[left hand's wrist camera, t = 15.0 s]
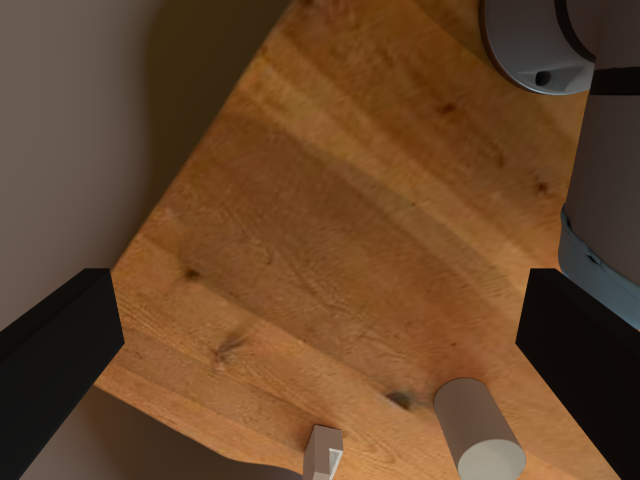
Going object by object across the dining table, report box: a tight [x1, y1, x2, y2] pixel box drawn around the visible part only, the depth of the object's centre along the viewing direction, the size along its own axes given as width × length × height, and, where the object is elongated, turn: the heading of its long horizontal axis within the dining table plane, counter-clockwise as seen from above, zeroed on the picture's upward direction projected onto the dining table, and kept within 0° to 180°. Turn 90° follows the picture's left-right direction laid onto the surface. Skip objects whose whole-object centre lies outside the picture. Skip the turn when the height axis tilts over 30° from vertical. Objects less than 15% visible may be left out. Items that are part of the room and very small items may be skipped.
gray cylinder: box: [434, 378, 526, 480], centre depth 46 cm, size 7×7×9 cm
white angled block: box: [303, 425, 343, 480], centre depth 49 cm, size 4×10×9 cm, turn 165°
